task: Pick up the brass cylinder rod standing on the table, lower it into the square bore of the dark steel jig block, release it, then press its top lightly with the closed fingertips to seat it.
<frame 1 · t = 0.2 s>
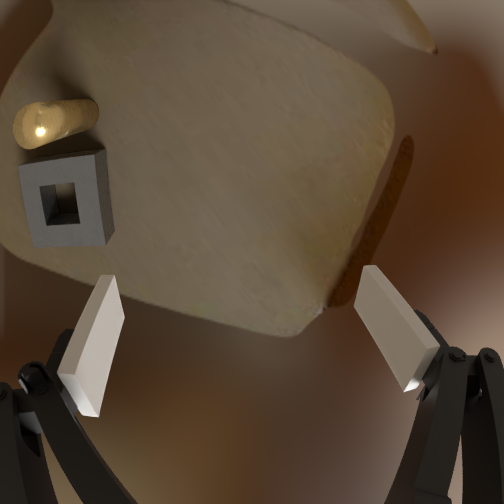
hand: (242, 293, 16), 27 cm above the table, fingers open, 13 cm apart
brass cylinder rod: (84, 114, 33), on the table
jig: (72, 194, 38), on the table
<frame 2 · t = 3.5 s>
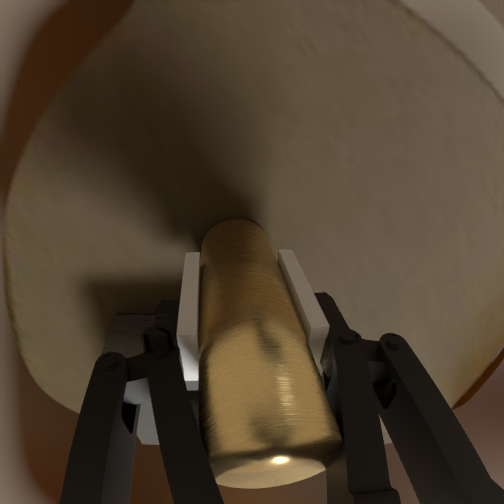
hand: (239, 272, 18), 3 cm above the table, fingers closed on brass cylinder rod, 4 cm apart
brass cylinder rod: (235, 250, 20), on the table, touching gripper
jig: (200, 368, 25), on the table
when the fingers open (6 cm above the table, at t = 7.8 s): brass cylinder rod drops 2 cm, resting in jig.
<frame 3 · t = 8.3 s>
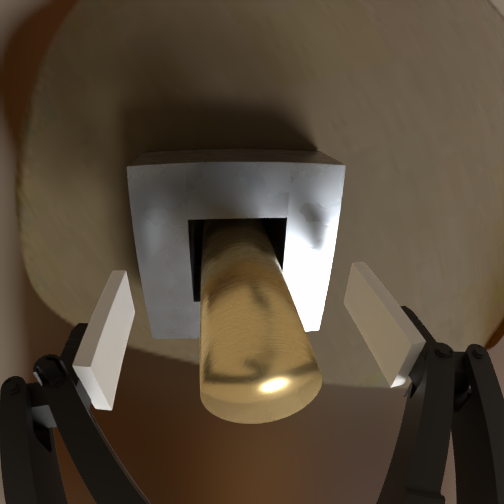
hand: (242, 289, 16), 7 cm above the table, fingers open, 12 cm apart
brass cylinder rod: (233, 231, 23), resting in jig
jig: (232, 231, 23), on the table
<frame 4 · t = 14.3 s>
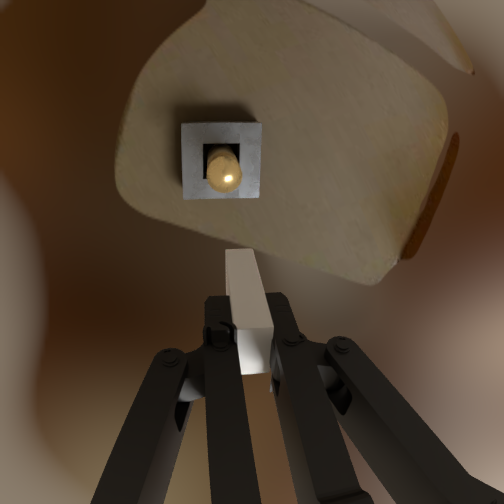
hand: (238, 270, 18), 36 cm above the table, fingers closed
brass cylinder rod: (220, 156, 50), resting in jig
jig: (220, 156, 50), on the table
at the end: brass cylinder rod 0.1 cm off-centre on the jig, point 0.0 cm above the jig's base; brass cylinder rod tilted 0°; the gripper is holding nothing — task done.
